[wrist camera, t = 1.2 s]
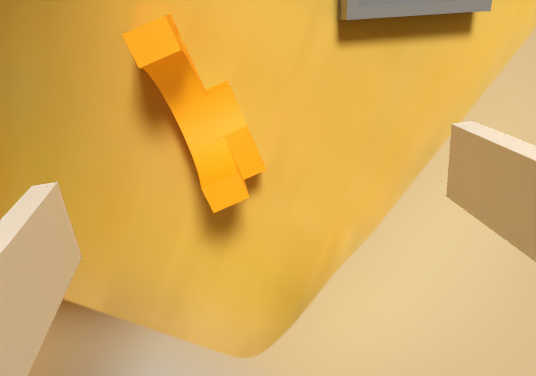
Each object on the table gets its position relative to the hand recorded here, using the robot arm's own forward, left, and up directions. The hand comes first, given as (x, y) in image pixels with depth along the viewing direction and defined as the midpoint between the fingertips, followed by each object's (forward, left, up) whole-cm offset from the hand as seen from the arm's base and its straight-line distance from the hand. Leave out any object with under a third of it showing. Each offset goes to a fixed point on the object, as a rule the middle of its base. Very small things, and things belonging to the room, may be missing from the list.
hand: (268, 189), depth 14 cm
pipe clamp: (0, -2, -19) cm, 19 cm away
